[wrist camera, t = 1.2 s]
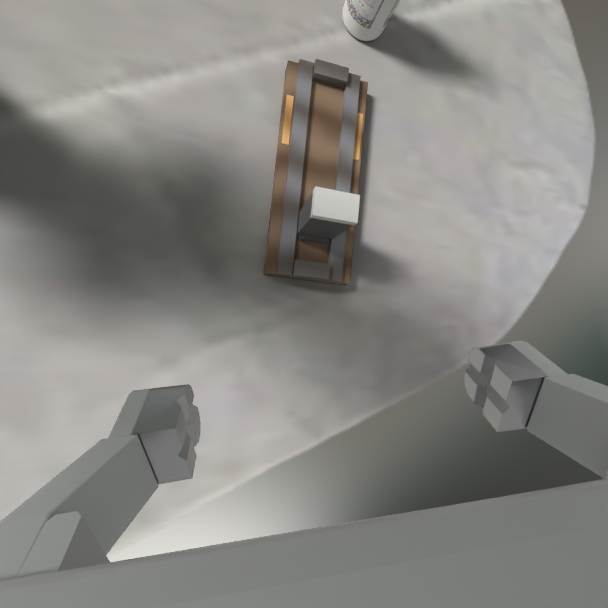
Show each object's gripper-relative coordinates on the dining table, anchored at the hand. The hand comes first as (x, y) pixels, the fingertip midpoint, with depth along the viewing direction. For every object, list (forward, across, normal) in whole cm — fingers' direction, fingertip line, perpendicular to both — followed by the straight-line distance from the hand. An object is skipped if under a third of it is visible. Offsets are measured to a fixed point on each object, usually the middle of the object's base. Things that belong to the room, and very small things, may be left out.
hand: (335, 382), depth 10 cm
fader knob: (+38, -5, +6) cm, 39 cm away
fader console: (+44, -6, +1) cm, 45 cm away
